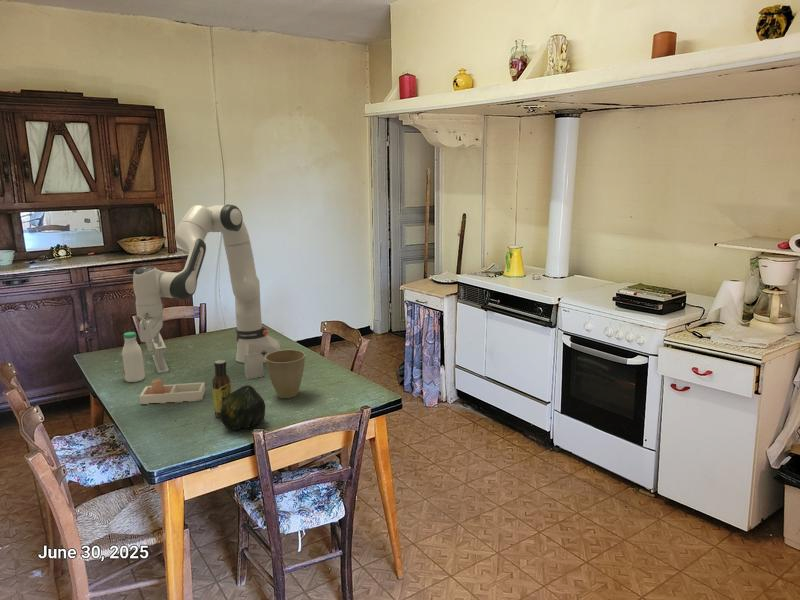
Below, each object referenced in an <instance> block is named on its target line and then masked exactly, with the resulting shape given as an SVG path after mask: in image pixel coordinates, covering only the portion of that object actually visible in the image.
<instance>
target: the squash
mask: <svg viewBox="0 0 800 600" xmlns="http://www.w3.org/2000/svg"><path fill="white" fill-rule="evenodd" d="M265 415H266V403H265V401H264V398H263V397H262V396H261V395H260V394H259V393H258V391H256V389H255V388H254V387H253V386H252V385H249V384H247V385H244V386H241V387H240V388H237V389H236V390H234V391H231V394H229V395H228V396H226V397H225V399H224V401H223V404H222V408H221V417H220V419H221V422H222V424H223V426H224V427H226V428H227V429H232V430H234V431H237V430H241V428H243V429H248V428H251V427H255V426H258V425H261V424H262V422H263V421H264V420H265Z"/></svg>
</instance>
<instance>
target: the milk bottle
mask: <svg viewBox="0 0 800 600" xmlns="http://www.w3.org/2000/svg"><path fill="white" fill-rule="evenodd" d="M123 340H124V344H123V346H122V347H123V348H122V351H121V358H122V367H123V375H124V380H125V382H127V383H136V382H140V381H142V380H143V381H144V379H145V378H146V373H145V366H144V365H145V363H144V358H143V352H142V351H143V350H142V349H141V346H140V344H138V342H137V333H136V332H135V331H127V332H124V333H123Z"/></svg>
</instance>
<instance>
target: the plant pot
mask: <svg viewBox="0 0 800 600" xmlns="http://www.w3.org/2000/svg"><path fill="white" fill-rule="evenodd" d="M305 358H306V353H304V352H303V351H301V350H297V349H281V350H279V351H275V352H272V353H269V354H267V355H266V356H265V361H266V363H265V364H266V369H267V372H268V375H269V378H270V382H271V384H272V386H273V388H274V391H275V393H276V395H277V397H278V398H280V399H283V398H288V399H291V398H290V397H293V398H294V396H295V397H296V396H298V395H299V394H298V393H299V391H300V387H301V383H302V379H303V373H304V369H305V360H306V359H305Z"/></svg>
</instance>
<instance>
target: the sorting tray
mask: <svg viewBox="0 0 800 600" xmlns="http://www.w3.org/2000/svg"><path fill="white" fill-rule="evenodd" d="M163 386H164V394H153V390H152V385H147V386H144V388H143V390H142V391H141V393H140V395H139V396H138V397H139V404H147V405H149V404H148V403H161V404H167V403H166V402H175V403H184V402H183V401H188V402H200V401H201V400H202V401H203V398H204V396H205V394H206V383H205V381H203V382H190V383H189V382H188V383H176V384H174V383H173V384H163Z"/></svg>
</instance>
